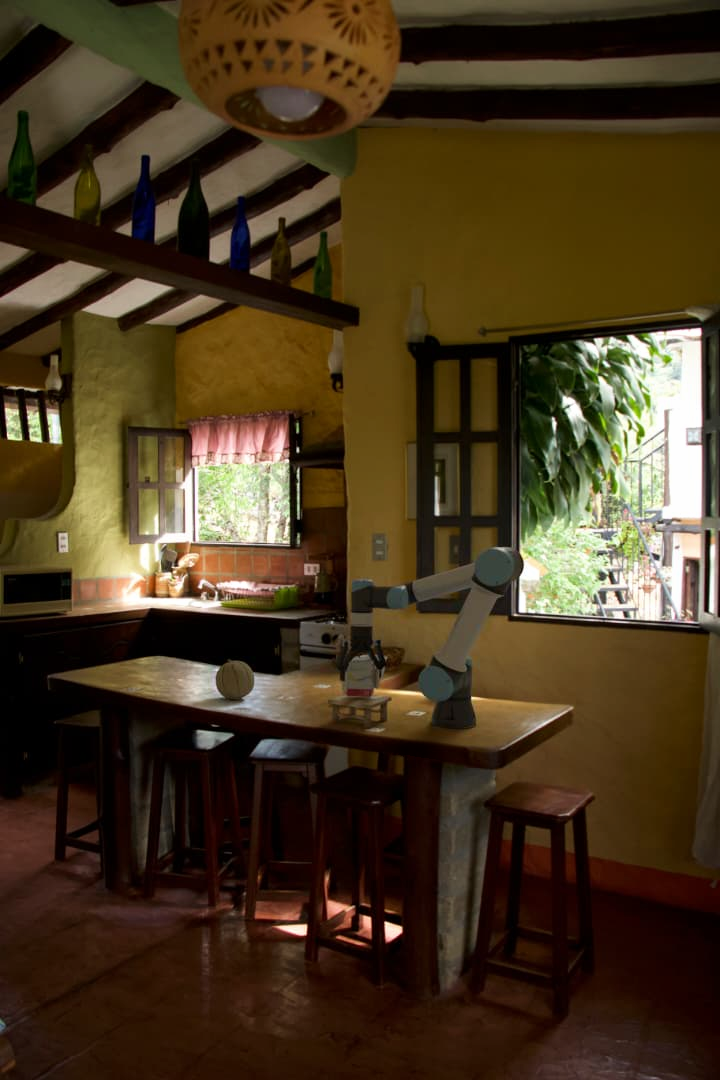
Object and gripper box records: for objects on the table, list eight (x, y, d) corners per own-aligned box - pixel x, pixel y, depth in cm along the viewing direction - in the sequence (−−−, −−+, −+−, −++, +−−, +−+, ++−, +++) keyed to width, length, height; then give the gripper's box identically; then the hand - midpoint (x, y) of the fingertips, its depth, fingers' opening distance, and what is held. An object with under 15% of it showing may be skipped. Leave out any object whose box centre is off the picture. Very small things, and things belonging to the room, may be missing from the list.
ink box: (371, 697, 295) (371, 661, 295) (345, 696, 296) (346, 660, 296) (374, 692, 303) (375, 658, 303) (350, 691, 305) (350, 657, 304)
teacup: (353, 676, 386) (353, 654, 386) (387, 677, 386) (387, 654, 386) (351, 681, 374) (352, 658, 374) (387, 682, 374) (387, 659, 374)
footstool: (391, 720, 303) (391, 696, 303) (370, 729, 289) (370, 705, 289) (350, 714, 311) (350, 692, 311) (327, 723, 297) (328, 699, 296)
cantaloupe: (252, 703, 327) (252, 663, 326) (212, 702, 326) (212, 662, 326) (256, 695, 341) (257, 656, 341) (218, 695, 341) (219, 656, 341)
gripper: (386, 622, 308) (385, 684, 309) (325, 625, 297) (324, 689, 298) (397, 624, 301) (396, 688, 302) (334, 627, 290) (333, 693, 291)
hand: (360, 689), depth 300 cm, fingers closed on ink box, 11 cm apart
